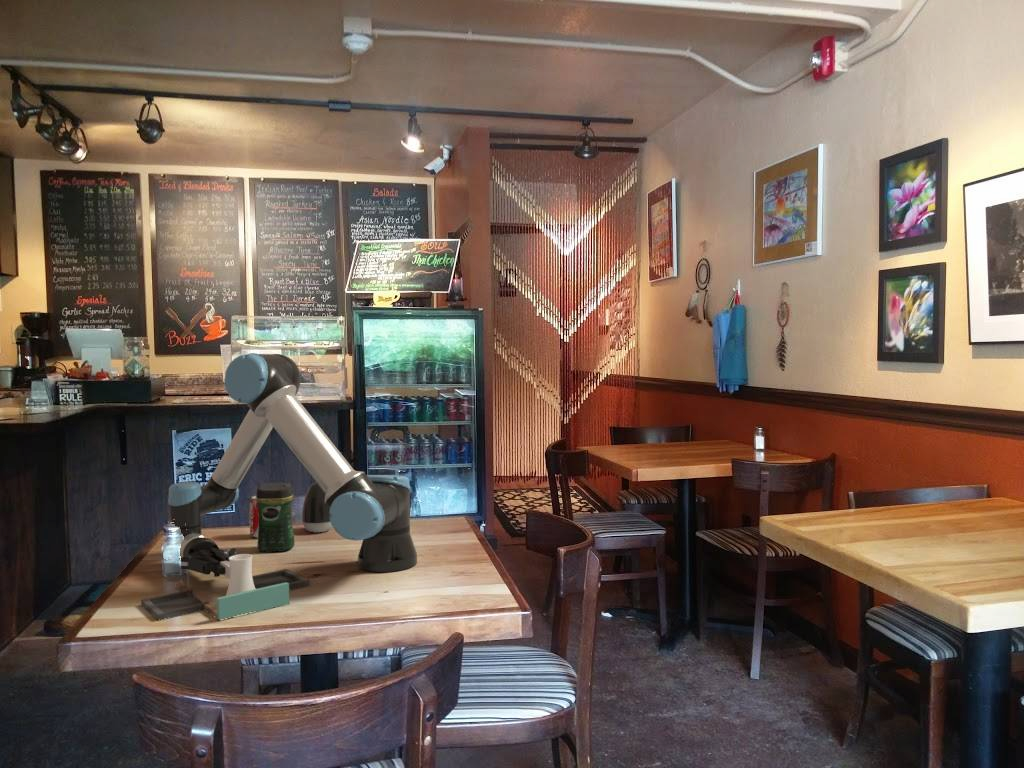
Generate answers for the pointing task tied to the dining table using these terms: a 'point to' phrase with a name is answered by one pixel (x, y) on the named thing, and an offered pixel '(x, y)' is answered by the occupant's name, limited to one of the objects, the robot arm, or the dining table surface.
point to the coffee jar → (275, 517)
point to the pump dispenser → (315, 510)
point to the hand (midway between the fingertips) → (234, 573)
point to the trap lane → (189, 603)
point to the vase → (240, 574)
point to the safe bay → (252, 600)
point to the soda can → (254, 517)
